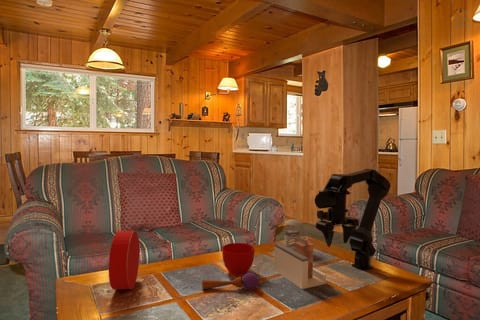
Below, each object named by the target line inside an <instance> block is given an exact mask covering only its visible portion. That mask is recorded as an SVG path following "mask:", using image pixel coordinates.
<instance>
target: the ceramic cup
mask: <svg viewBox="0 0 480 320" xmlns="http://www.w3.org/2000/svg"><path fill="white" fill-rule="evenodd" d="M255 249H256V248H255V246H254V245H251V244H249V243H245V242H234V243H233V242H231V243H226V244H224V245H223V246H222V249H221V252H222V261H223V263H224V267H225V269H227V271H228V272H229V273H230V274H231V275H233V276H244V275H245V274H247V273H248V271H249V270H250V269H251V267H252V265H253V263H254V260H255Z"/></svg>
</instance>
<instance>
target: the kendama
mask: <svg viewBox="0 0 480 320" xmlns="http://www.w3.org/2000/svg"><path fill="white" fill-rule="evenodd" d="M201 284H202V285H201V287H202V291H205V290H210V289H214V288H215V289H216V288H220V287H227V286H231V285H232V286H234V287H237V288H239V289H242V288H243V289H245V290H248V291H254V290H255V289H257V288H258V286H259V278H258V276H257V274H256V273H253V272H246V274H244V275H239V276H238V277H237V278H235V279H233V280H210V279H207V280H206V279H202V280H201Z"/></svg>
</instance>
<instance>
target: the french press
mask: <svg viewBox="0 0 480 320" xmlns="http://www.w3.org/2000/svg"><path fill="white" fill-rule="evenodd" d="M291 203H293V206H292V207H293V208H292V209H293V210H292V216H294V213H295V211H294V209H295V207H294V206H295V205H294V204H295V203H296V200H295V199H291ZM302 223H303V222H301V221H300V220H298V219H294V218H292V219H288V220H285V221H284V224H285V225H287V226H291V227H298V226H302ZM302 228H303V229H304V230H305V233H306V234H305V237H304V239H306V240H307V238H308V231H307V229H306V227H305V226H302ZM301 238H302V234H301V230H299V229H295V228H289V229H285V233H284V243H283V245H284V246H286V247H288V248H290V249H292V250H294V251H295V242H300V241H301Z"/></svg>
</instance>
